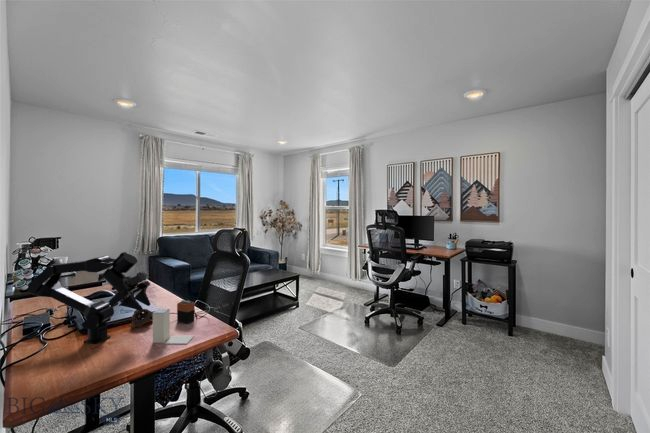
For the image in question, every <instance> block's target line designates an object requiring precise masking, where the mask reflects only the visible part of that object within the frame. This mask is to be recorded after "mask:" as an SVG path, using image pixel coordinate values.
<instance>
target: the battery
mask: <svg viewBox="0 0 650 433" xmlns="http://www.w3.org/2000/svg"><path fill="white" fill-rule="evenodd" d="M176 311H177V312H176V320H177V323H182V324H186V325H188V324H190V323H192V322H194V321H195V302H193V301H191V300H185V299H182V300H181V301H180V302H177V304H176Z"/></svg>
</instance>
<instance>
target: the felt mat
mask: <svg viewBox="0 0 650 433" xmlns="http://www.w3.org/2000/svg"><path fill="white" fill-rule="evenodd" d="M193 338H195V335H191V334H187V335H185V334H183V335H180V334H178V335H177V334H175V335H174V334H173V335H172V336H170V338H169V339H168V340H166V341H165V342H164V344H163V345H188V344H189V342H191V340H192V339H193Z"/></svg>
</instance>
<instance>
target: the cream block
mask: <svg viewBox="0 0 650 433" xmlns="http://www.w3.org/2000/svg"><path fill="white" fill-rule="evenodd" d="M152 312H153V320H152V343H154V344H155V343H158V344H159V343H160V344H162V343H165V342H166V341H167V340H168V339H169V338H170V337H171V335H170V334H171V333H170V332H171V330H170V329H171V327H170V321H171V320H170V318H171V317H170V308H157V309H156V310H155V311H152Z"/></svg>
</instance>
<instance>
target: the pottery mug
mask: <svg viewBox="0 0 650 433" xmlns="http://www.w3.org/2000/svg"><path fill="white" fill-rule="evenodd" d="M153 312H154V311H152V310H149V309H147V308H143V309H142V310H141V311H139V310H136V309H134V312H133V314H132V315H131V327H132V329H135V328H136V327H141V326H144V324H146V323H149V322H152V321H153Z"/></svg>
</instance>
